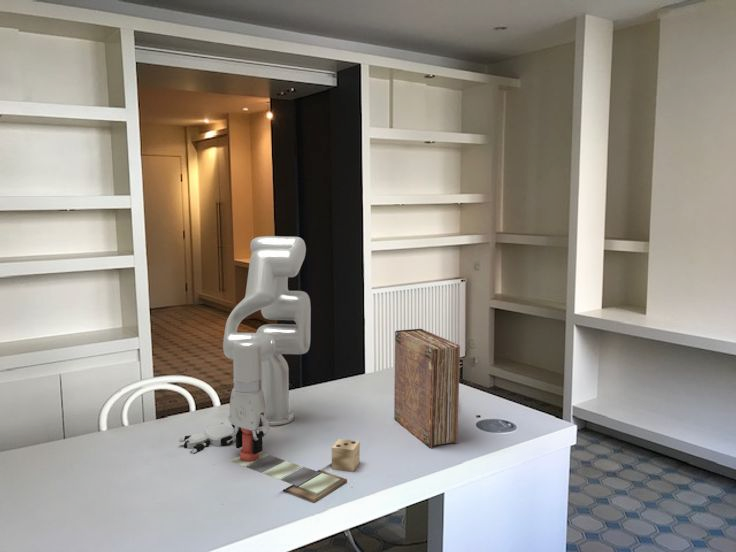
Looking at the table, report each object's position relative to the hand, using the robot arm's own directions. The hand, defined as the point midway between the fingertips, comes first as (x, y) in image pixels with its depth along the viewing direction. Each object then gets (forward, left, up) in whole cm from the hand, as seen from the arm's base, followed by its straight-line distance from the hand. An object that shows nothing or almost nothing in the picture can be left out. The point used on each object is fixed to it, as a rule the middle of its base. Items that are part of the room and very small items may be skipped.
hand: (249, 448), depth 161 cm
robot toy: (-18, +1, -4) cm, 18 cm away
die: (+22, +14, -4) cm, 27 cm away
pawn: (0, 0, -3) cm, 3 cm away
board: (+12, 0, -4) cm, 13 cm away
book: (+27, +48, -4) cm, 55 cm away
